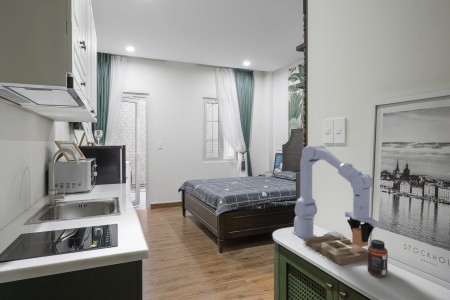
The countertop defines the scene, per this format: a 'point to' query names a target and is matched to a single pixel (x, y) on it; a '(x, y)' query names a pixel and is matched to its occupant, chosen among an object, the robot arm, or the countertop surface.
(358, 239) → the terracotta rectangular block
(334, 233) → the block
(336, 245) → the collar
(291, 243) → the countertop surface
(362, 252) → the wooden compartment tray
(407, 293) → the countertop surface
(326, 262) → the countertop surface
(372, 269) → the supplement bottle
